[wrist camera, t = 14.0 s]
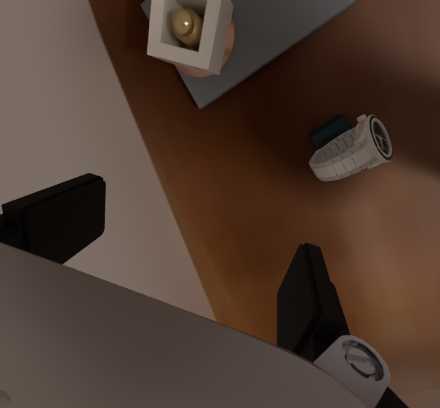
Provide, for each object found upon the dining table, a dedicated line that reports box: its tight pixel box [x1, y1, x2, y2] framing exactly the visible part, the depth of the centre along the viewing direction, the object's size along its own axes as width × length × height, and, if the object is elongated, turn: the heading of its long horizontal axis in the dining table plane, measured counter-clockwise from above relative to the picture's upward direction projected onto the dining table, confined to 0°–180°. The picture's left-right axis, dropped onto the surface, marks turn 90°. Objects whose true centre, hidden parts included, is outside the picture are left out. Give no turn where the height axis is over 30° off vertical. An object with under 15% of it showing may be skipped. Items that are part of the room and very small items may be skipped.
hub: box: [171, 8, 235, 78], centre depth 27 cm, size 9×9×6 cm
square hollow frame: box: [147, 0, 234, 76], centre depth 27 cm, size 7×7×6 cm
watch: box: [308, 114, 393, 181], centre depth 27 cm, size 6×8×11 cm
